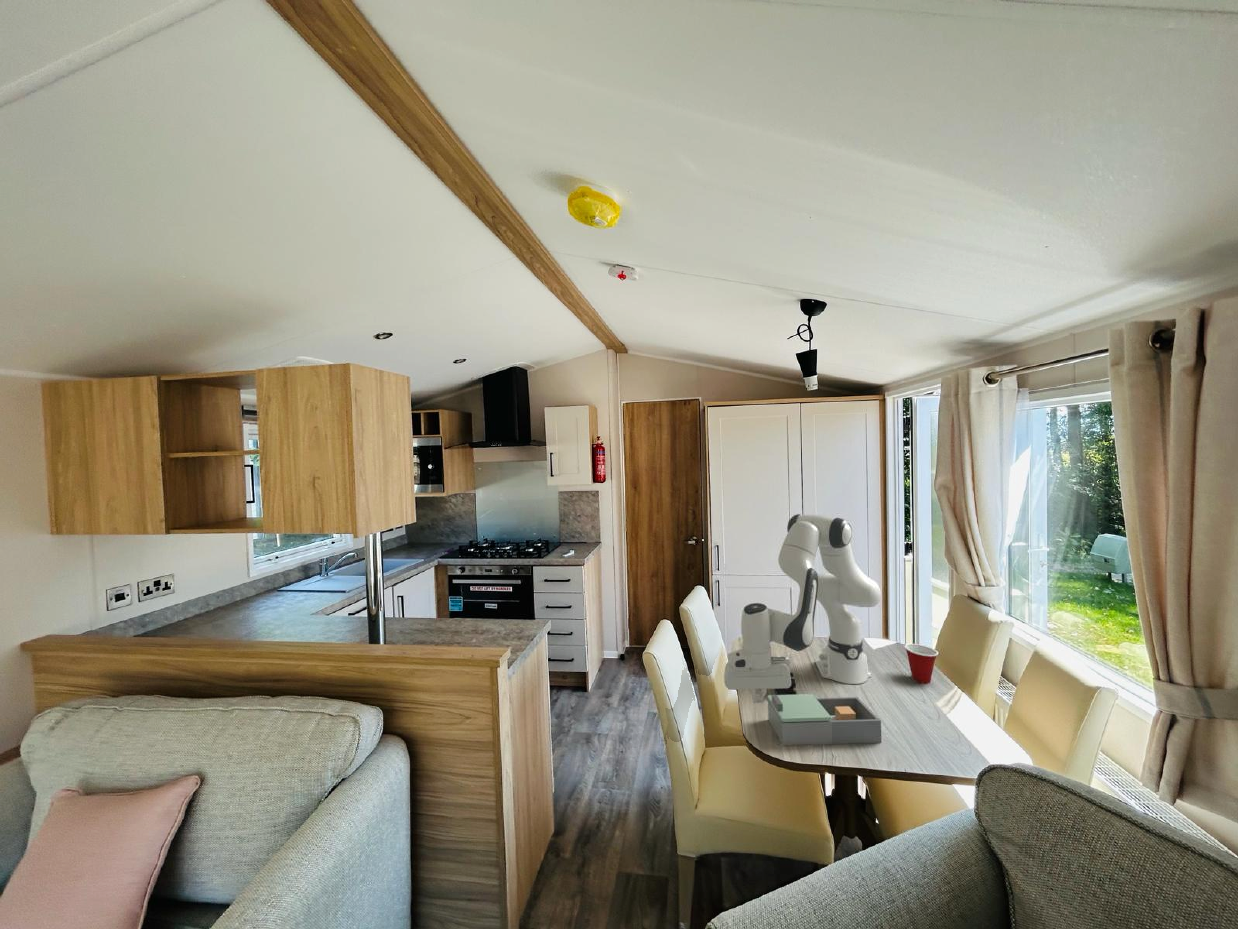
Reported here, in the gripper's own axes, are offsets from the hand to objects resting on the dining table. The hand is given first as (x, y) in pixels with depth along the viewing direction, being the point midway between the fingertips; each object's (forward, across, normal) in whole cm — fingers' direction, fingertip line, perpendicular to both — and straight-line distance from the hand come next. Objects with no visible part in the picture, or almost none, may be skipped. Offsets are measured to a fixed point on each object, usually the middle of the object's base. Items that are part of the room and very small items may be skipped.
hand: (758, 701), depth 154 cm
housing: (+10, -20, 0) cm, 22 cm away
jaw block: (+9, -27, 0) cm, 29 cm away
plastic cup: (+10, -70, -32) cm, 78 cm away
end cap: (+10, -16, -25) cm, 31 cm away
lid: (+3, -12, 0) cm, 13 cm away
